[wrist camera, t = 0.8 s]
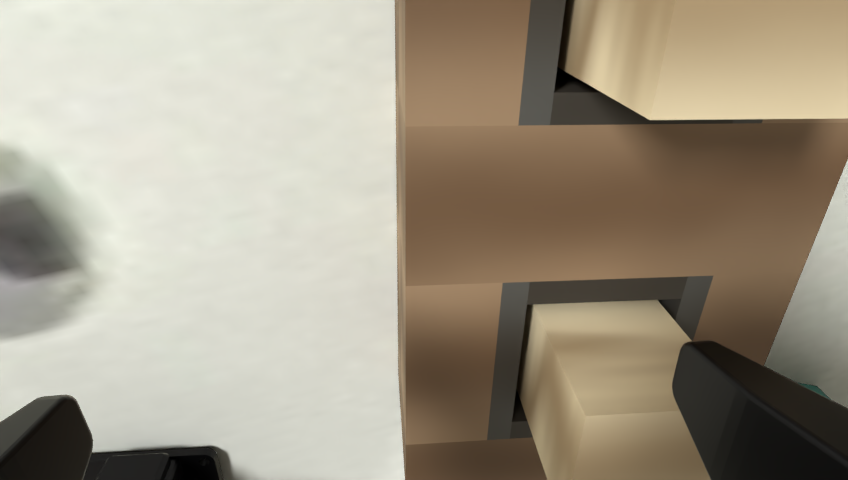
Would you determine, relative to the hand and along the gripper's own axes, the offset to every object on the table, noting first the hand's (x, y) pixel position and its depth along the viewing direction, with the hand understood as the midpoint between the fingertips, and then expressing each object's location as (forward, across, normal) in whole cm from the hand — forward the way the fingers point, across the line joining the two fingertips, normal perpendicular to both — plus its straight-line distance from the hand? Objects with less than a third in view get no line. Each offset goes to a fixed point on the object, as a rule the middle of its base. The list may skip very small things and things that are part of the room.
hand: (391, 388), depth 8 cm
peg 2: (+9, -6, +6) cm, 12 cm away
